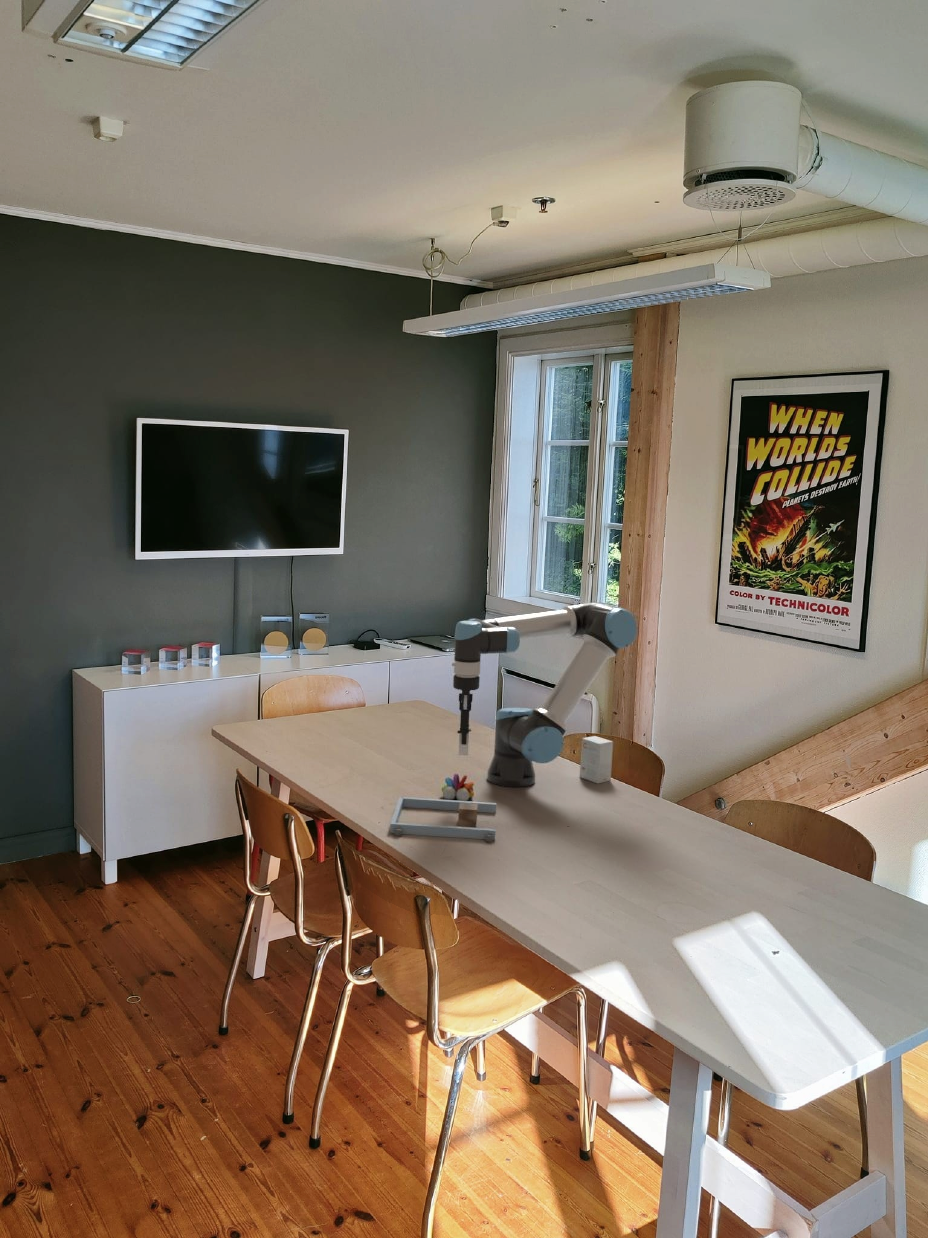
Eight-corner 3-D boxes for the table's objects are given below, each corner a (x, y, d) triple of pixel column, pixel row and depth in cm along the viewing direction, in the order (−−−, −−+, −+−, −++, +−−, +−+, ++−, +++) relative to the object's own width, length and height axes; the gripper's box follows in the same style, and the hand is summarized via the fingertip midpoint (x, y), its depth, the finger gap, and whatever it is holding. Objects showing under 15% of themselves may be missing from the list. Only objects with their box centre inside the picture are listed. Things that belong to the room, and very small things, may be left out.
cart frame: (496, 809, 290) (496, 800, 290) (494, 843, 264) (495, 833, 263) (399, 802, 291) (400, 794, 291) (388, 836, 265) (389, 826, 264)
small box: (610, 780, 323) (613, 741, 321) (597, 784, 319) (600, 744, 317) (592, 774, 329) (595, 735, 327) (578, 777, 325) (581, 737, 323)
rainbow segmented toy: (470, 804, 294) (472, 780, 292) (438, 800, 295) (439, 776, 294) (476, 795, 302) (477, 772, 301) (444, 791, 304) (446, 768, 303)
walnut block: (476, 821, 280) (477, 804, 279) (476, 827, 275) (477, 810, 274) (458, 820, 280) (459, 802, 279) (457, 826, 275) (458, 809, 274)
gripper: (454, 669, 297) (451, 747, 300) (452, 679, 284) (449, 760, 287) (479, 670, 297) (476, 748, 300) (479, 680, 284) (476, 761, 287)
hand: (463, 754), depth 294 cm, fingers closed
